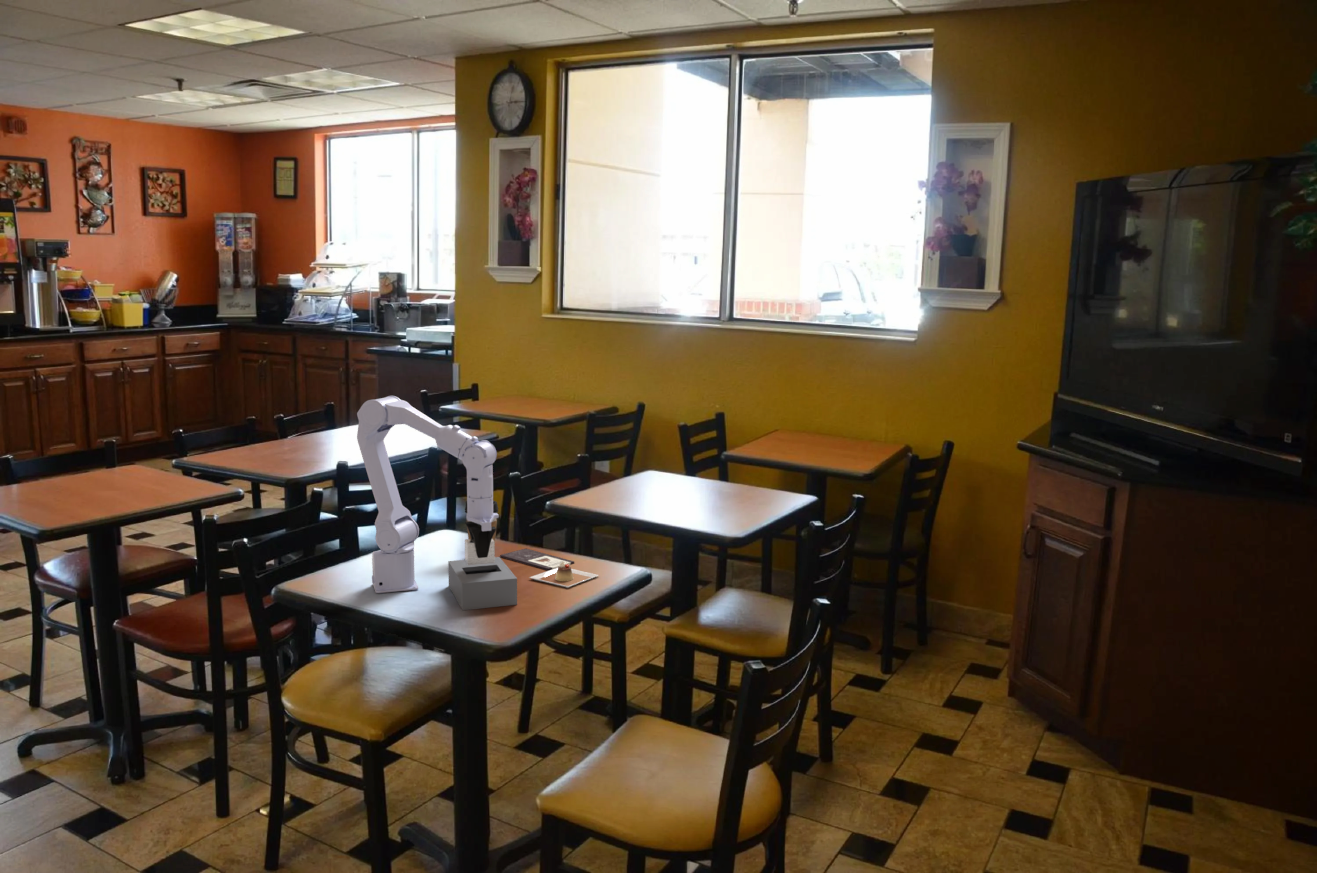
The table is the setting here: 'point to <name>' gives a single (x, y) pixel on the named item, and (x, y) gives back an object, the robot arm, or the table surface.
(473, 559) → the cream block
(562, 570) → the dessert
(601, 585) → the table surface
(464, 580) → the grey tissue box
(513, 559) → the chocolate bar
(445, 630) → the table surface
